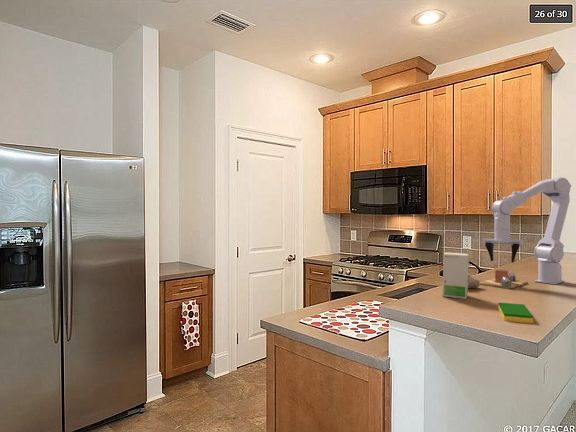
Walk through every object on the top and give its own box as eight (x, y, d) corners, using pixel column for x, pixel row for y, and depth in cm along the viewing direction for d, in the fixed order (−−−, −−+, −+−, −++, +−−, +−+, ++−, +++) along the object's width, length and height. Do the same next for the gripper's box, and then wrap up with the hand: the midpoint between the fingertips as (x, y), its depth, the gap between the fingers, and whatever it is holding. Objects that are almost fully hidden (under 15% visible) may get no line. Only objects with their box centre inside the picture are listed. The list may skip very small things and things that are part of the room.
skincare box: (442, 296, 137) (442, 253, 137) (444, 293, 143) (444, 251, 143) (467, 299, 133) (467, 255, 133) (468, 295, 139) (468, 252, 139)
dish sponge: (503, 322, 108) (503, 313, 108) (498, 309, 121) (498, 302, 121) (533, 324, 105) (533, 316, 105) (524, 311, 118) (524, 304, 118)
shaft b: (499, 283, 155) (499, 276, 155) (509, 284, 154) (509, 276, 154) (501, 285, 151) (501, 277, 151) (511, 286, 150) (511, 278, 150)
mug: (485, 290, 148) (476, 269, 146) (462, 300, 150) (452, 279, 148) (477, 282, 156) (468, 261, 153) (454, 291, 157) (445, 272, 155)
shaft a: (508, 279, 165) (508, 271, 165) (516, 280, 162) (516, 272, 162) (502, 280, 162) (502, 272, 162) (511, 281, 160) (511, 274, 160)
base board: (498, 279, 169) (498, 277, 169) (527, 283, 159) (527, 281, 159) (478, 284, 159) (478, 282, 159) (508, 289, 149) (508, 286, 149)
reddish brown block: (497, 280, 161) (497, 268, 161) (509, 281, 159) (509, 269, 159) (495, 282, 158) (495, 270, 158) (507, 283, 155) (507, 271, 155)
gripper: (481, 229, 160) (481, 261, 160) (521, 229, 151) (521, 264, 151) (484, 228, 165) (484, 259, 166) (523, 229, 157) (523, 261, 157)
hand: (502, 261), depth 159 cm, fingers open, 7 cm apart
